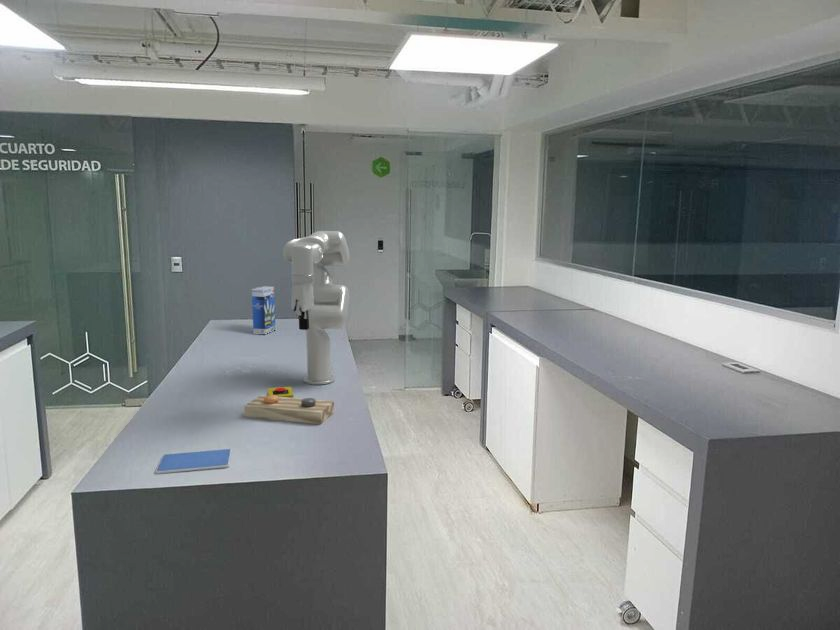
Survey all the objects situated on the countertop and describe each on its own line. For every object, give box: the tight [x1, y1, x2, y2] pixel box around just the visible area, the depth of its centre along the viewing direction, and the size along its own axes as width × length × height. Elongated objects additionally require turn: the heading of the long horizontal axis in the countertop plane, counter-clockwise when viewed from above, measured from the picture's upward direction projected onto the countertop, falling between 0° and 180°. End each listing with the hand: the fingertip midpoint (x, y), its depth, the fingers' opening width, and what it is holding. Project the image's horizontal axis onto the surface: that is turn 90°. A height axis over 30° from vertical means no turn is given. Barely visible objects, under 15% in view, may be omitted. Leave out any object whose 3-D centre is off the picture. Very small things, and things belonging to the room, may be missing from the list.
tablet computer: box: [154, 448, 233, 475], centre depth 172 cm, size 19×13×1 cm, turn 103°
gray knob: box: [301, 397, 317, 407], centre depth 209 cm, size 5×5×6 cm
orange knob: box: [264, 395, 278, 404], centre depth 212 cm, size 5×5×6 cm
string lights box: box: [251, 285, 276, 335], centre depth 343 cm, size 13×8×26 cm, turn 167°
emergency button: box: [266, 386, 295, 398], centre depth 229 cm, size 9×4×15 cm
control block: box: [243, 394, 335, 425], centre depth 211 cm, size 12×28×4 cm, turn 77°
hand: (304, 329), depth 222 cm, fingers closed
